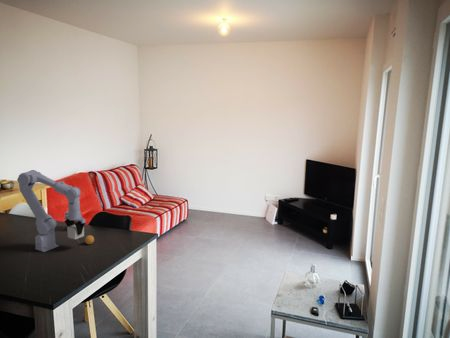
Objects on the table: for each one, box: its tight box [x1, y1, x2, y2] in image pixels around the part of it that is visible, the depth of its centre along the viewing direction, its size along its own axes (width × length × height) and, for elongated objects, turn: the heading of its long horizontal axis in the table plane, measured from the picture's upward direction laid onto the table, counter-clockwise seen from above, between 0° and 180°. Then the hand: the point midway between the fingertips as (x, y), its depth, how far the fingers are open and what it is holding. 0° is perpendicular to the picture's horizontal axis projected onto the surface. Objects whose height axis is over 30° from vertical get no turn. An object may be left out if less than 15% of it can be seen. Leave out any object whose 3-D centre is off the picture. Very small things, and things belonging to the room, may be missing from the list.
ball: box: [84, 235, 95, 245], centre depth 199 cm, size 5×5×5 cm
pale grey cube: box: [66, 225, 85, 240], centre depth 191 cm, size 6×6×6 cm
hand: (75, 233), depth 191 cm, fingers closed on pale grey cube, 6 cm apart
